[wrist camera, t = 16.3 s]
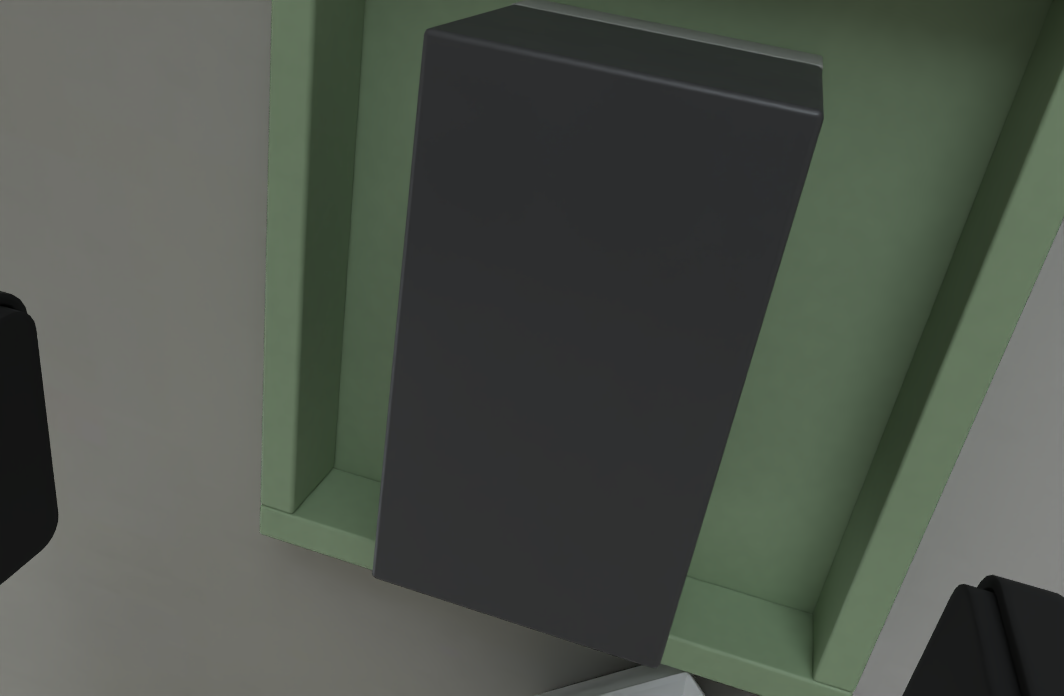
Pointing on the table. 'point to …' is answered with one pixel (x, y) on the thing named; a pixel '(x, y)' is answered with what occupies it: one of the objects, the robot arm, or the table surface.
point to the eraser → (581, 309)
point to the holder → (790, 320)
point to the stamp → (635, 684)
